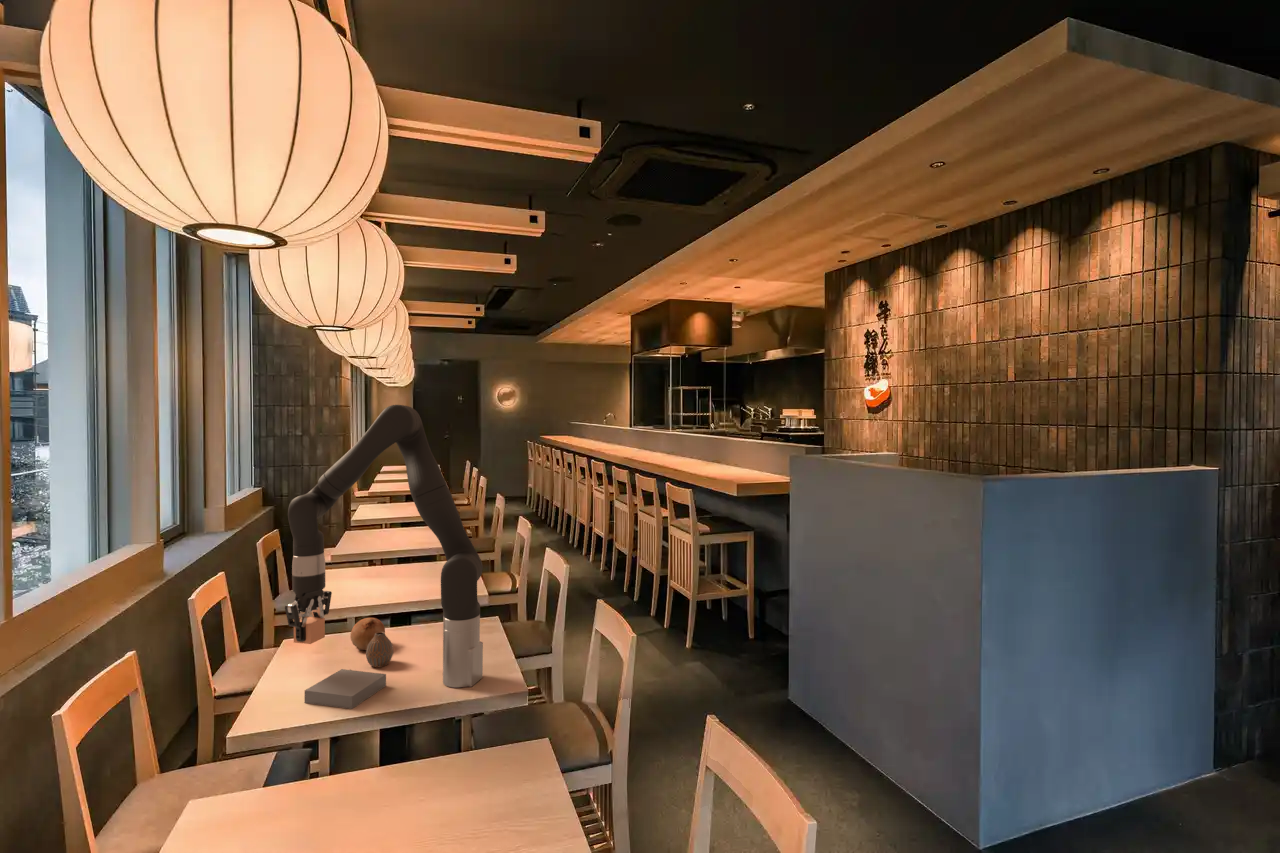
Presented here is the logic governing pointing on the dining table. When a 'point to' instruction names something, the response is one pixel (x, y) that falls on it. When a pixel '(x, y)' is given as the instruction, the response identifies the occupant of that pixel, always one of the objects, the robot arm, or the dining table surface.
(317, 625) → the block
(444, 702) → the dining table surface
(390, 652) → the vase
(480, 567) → the robot arm
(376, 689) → the block
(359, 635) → the brown round piece
